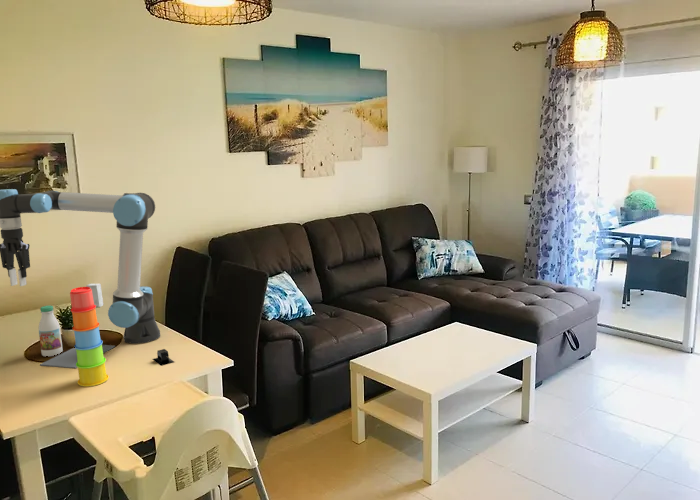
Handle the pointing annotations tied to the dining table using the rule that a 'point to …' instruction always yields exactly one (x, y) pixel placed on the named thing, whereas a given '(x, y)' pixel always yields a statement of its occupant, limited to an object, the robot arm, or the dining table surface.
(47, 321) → the milk bottle
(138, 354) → the dining table surface
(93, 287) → the skincare box
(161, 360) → the black block on base
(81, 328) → the stacking cups
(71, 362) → the slate mat
